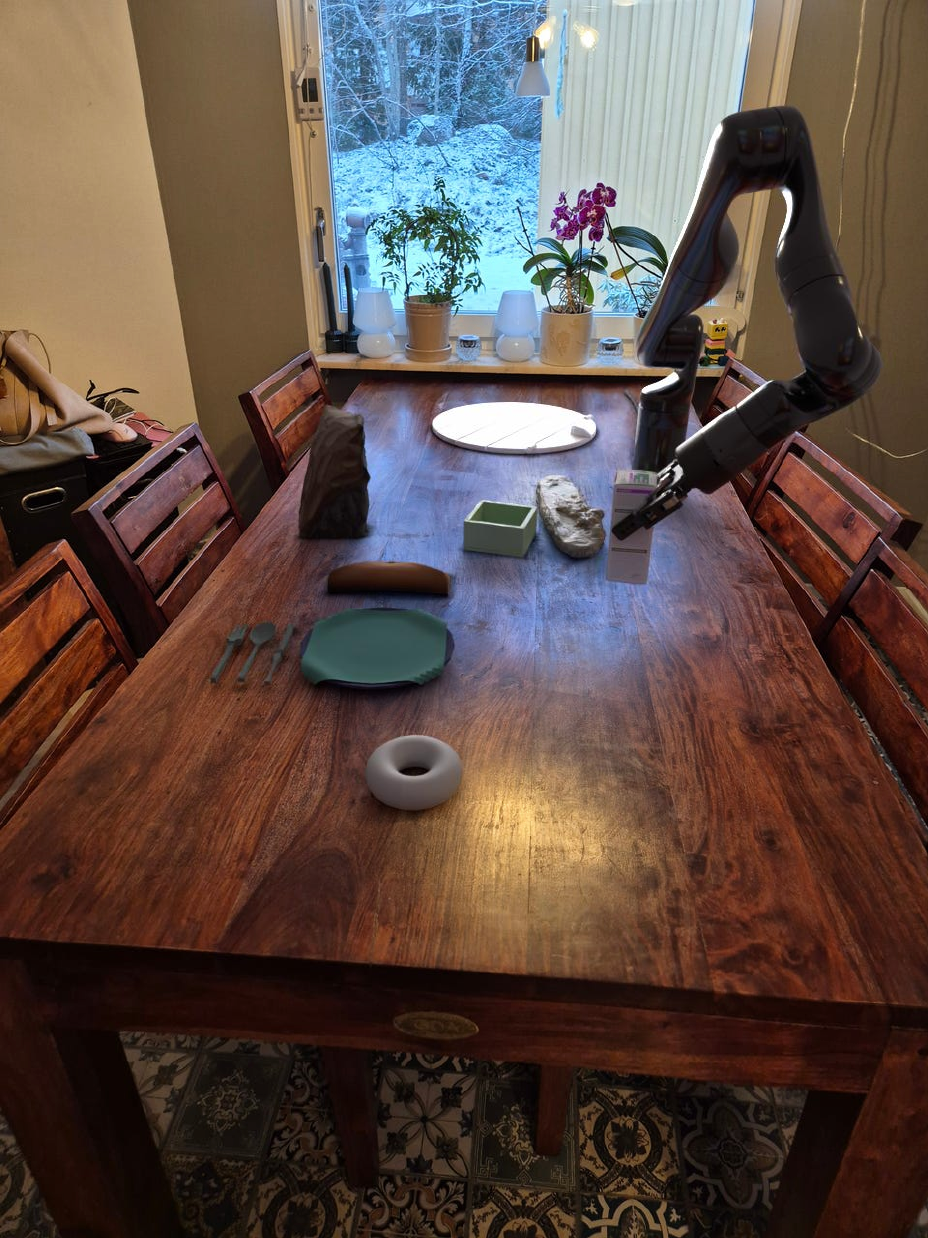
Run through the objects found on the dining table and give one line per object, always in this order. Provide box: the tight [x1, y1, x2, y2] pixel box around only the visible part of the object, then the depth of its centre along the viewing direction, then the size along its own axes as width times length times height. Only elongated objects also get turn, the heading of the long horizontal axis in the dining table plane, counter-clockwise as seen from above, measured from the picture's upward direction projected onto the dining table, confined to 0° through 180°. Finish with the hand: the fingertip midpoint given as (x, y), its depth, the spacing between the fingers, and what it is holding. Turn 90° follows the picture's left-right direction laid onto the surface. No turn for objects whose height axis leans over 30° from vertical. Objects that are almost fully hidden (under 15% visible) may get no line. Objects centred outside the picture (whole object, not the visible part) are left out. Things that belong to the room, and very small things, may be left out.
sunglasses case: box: [326, 560, 451, 597], centre depth 122 cm, size 18×7×7 cm
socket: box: [462, 499, 538, 559], centre depth 137 cm, size 10×10×5 cm
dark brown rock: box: [297, 404, 372, 539], centre depth 138 cm, size 13×13×20 cm
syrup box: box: [605, 469, 658, 585], centre depth 112 cm, size 6×6×14 cm
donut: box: [364, 734, 464, 811], centre depth 83 cm, size 10×4×10 cm
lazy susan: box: [432, 401, 597, 455], centre depth 195 cm, size 40×39×3 cm
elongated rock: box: [535, 474, 607, 558], centre depth 145 cm, size 35×5×10 cm
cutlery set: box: [209, 606, 456, 690], centre depth 105 cm, size 20×30×2 cm, turn 89°
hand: (619, 525), depth 112 cm, fingers closed on syrup box, 6 cm apart
